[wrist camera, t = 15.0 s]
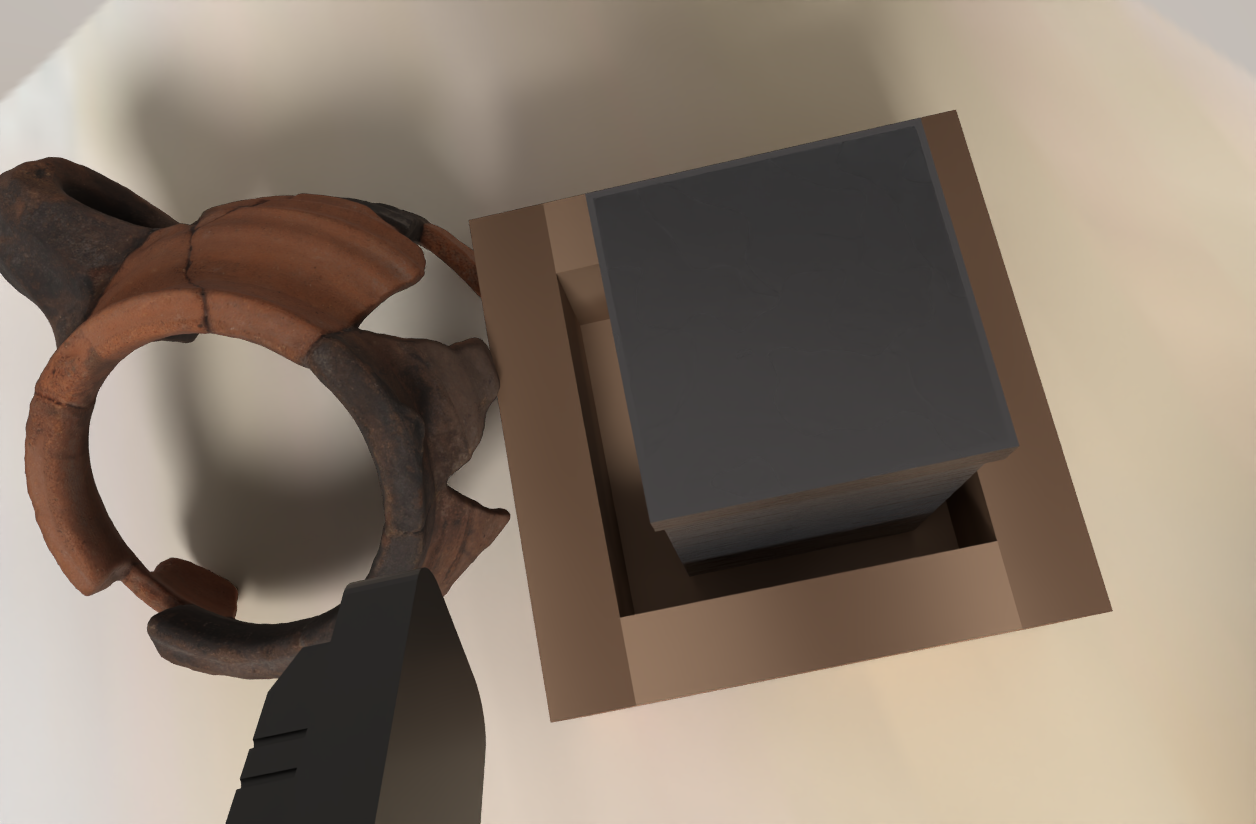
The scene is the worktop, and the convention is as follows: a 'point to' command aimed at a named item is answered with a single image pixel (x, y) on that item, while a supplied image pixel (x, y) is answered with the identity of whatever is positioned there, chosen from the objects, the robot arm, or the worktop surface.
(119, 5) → the worktop surface
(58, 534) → the pottery mug
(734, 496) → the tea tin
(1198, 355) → the worktop surface
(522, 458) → the walnut mount
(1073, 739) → the worktop surface
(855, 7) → the worktop surface
